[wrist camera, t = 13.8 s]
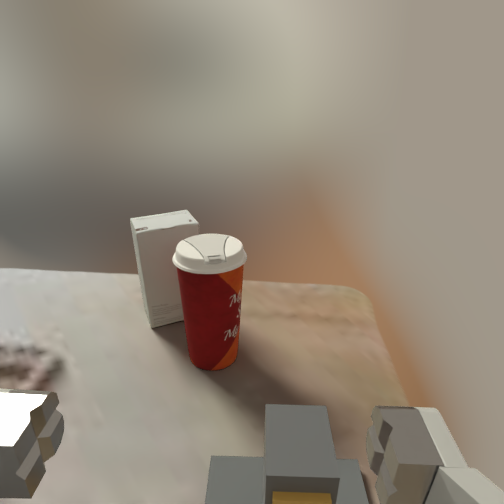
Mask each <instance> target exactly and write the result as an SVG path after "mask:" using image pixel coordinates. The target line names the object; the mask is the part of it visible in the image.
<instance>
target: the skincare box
mask: <svg viewBox="0 0 504 504" xmlns="http://www.w3.org/2000/svg"><path fill="white" fill-rule="evenodd" d="M130 222H131V229H132V234H133V242H134V247H135V253H136V260H137V266H138V272H139V278H140V285H141V291H142V297H143V304H144V308H145V311H146V314H147V317H148V320H149V323H150V326H151V328H155V327H158V326H162V325H166V324H170V323H174V322H178V321H182V320H184V317H183V310H182V302H181V295H180V288H179V281H178V274H177V267H176V266H175V265H174V263H173V255H174V253H175V252H176V247H177V245H178V243H179V242H180V241H182V240H184V239H186V238H189V237H191V236H195V235H199V223H198V222H197V221H196V220H195V219H194V218H193V217H192V216H191V214H190V213H189V212H188V211H187V210H182V211H176V212H170V213H164V214H158V215H151V216H144V217H138V218H131V219H130Z"/></svg>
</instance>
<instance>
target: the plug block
mask: <svg viewBox="0 0 504 504" xmlns="http://www.w3.org/2000/svg"><path fill="white" fill-rule="evenodd" d="M339 482H340V475H339V470H338V464H337V459H336V454H335V449H334V444H333V439H332V434H331V429H330V423H329V418H328V413H327V408H326V406H315V405H281V404H266V405H265V433H264V460H263V488H262V504H336V500H337V494H338V488H339Z"/></svg>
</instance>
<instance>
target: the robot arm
mask: <svg viewBox="0 0 504 504" xmlns="http://www.w3.org/2000/svg"><path fill="white" fill-rule="evenodd" d="M58 404H59V400H58V397H57V393H54V392H47V391H33V390H19V389H0V498H30V499H31V498H32V496H33V494H34V492H35V490H36V488H37V487H38V485H39V483H40V481H41V479H42V477H43V476H44V474H45V472H46V470H45V465H44V462H45V461H47V460H48V459H49V458H51V457H52V456H53V455H55V453H56V451H57V449H58V447H59V445H60V443H61V440H62V436H63V432H64V420H63V415H62V414H61V413H60V412H58V411H57V410H56V407H57V405H58ZM371 418H372V421H373V425H372V426H371V427H370V428H368V432H367V437H366V451H367V457H368V462H369V466H370V469H371V470H372V471H373V472H374V473H375V474H376V475H377V476H378V477H377V481H376V485H375V488H376V491H377V495H378V498H379V502H380V504H504V491H503V490H501V489H500V488H499V487H498V486H496V485H495V484H494V483H493V482H492V481H490V480H489V479H488V478H487V477H486V476H484V475H483V474H482V473H481V472H479V471H478V470H477V469H476V468H469V467H468V465H467V463H466V461H465V459H464V457H463V455H462V453H461V451H460V450H459V448H458V446H457V444H456V442H455V440H454V439H453V436H452V435H451V433H450V431H449V429H448V427H447V425H446V424H445V422H444V420H443V418H442V416H441V414H440V412H439V411H438V410H437V409H436V408H423V407H415V408H414V407H399V406H375V407H374V408H373V411H372V415H371Z"/></svg>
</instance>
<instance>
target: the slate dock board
mask: <svg viewBox="0 0 504 504" xmlns="http://www.w3.org/2000/svg"><path fill="white" fill-rule="evenodd" d="M263 460H264V457H241V456H211V461H210V469H209V476H208V484H207V492H206V499H205V504H262V488H263ZM337 464H338V470H339V475H340V482H339V488H338V494H337V500H336V504H369V502H368V499H367V495H366V491H365V487H364V483H363V479H362V475H361V471H360V467H359V464H358V460H357V459H337Z"/></svg>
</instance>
